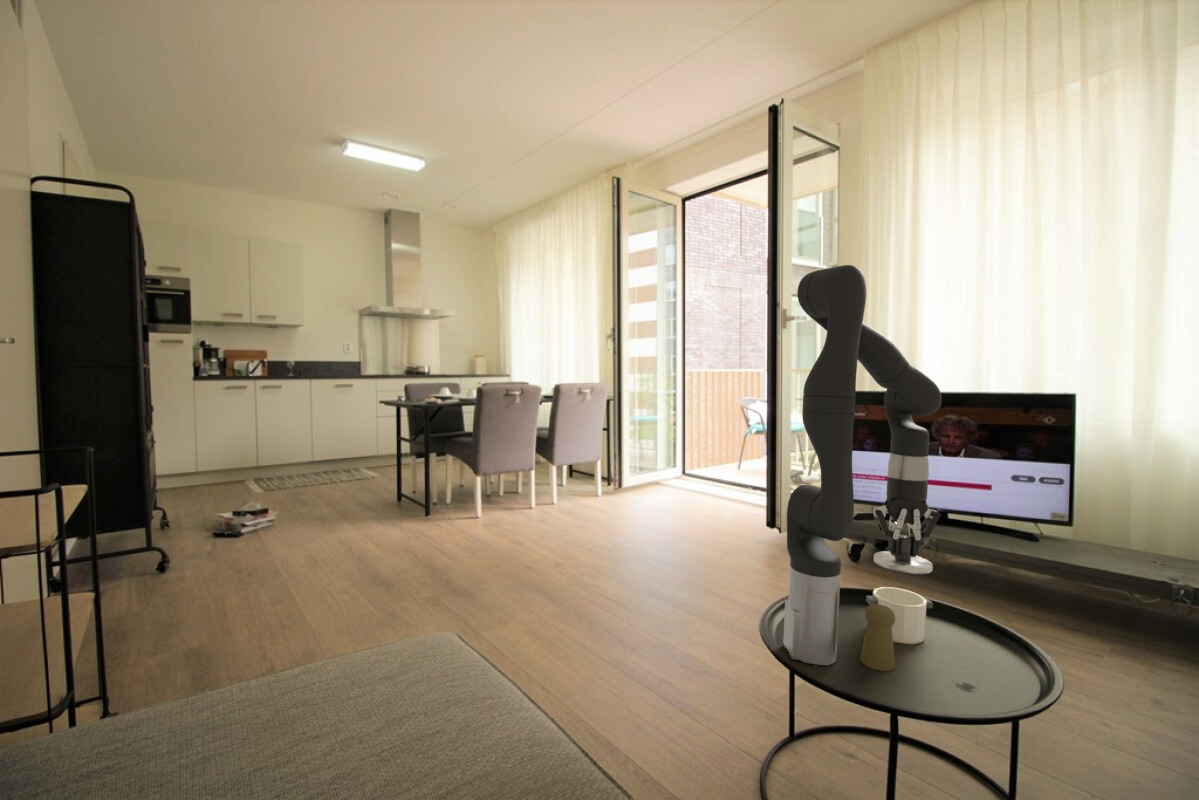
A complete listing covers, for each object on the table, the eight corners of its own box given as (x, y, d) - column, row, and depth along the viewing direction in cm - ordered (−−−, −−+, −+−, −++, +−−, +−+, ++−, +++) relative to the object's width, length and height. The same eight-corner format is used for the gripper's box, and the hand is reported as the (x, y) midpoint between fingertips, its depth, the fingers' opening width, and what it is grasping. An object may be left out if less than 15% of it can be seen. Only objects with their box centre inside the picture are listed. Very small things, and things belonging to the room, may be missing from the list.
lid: (887, 572, 113) (889, 544, 113) (865, 554, 124) (866, 528, 124) (943, 575, 112) (945, 546, 112) (916, 556, 123) (917, 530, 123)
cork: (853, 658, 108) (856, 603, 108) (874, 652, 111) (877, 598, 110) (880, 673, 103) (883, 616, 102) (902, 667, 105) (905, 610, 105)
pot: (877, 642, 115) (879, 605, 114) (857, 620, 125) (859, 586, 124) (940, 645, 114) (943, 607, 114) (915, 623, 124) (917, 588, 124)
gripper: (932, 473, 120) (927, 551, 121) (866, 471, 121) (861, 548, 122) (952, 480, 113) (946, 563, 114) (881, 477, 114) (876, 560, 115)
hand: (902, 555), depth 118 cm, fingers closed on lid, 3 cm apart
